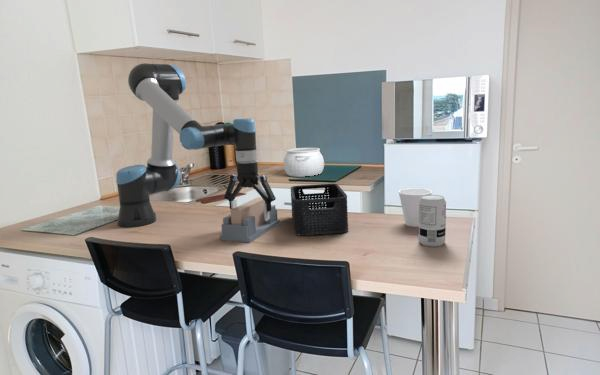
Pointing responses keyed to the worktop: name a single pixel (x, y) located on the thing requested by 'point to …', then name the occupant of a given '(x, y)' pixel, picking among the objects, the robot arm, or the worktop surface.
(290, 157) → the pot
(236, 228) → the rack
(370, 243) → the worktop surface
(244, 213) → the tan rectangular block
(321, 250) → the worktop surface
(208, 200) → the wooden tablet
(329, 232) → the storage bin
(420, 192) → the cup
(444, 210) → the supplement can
